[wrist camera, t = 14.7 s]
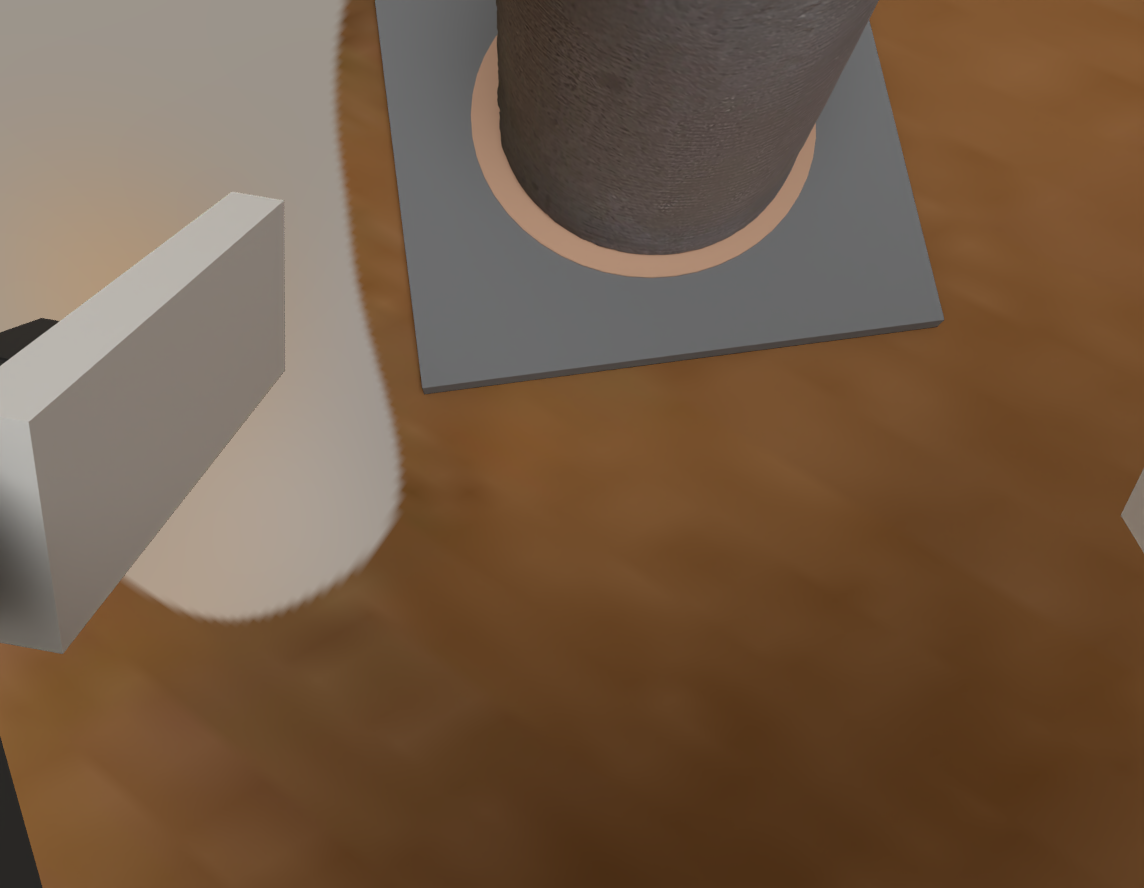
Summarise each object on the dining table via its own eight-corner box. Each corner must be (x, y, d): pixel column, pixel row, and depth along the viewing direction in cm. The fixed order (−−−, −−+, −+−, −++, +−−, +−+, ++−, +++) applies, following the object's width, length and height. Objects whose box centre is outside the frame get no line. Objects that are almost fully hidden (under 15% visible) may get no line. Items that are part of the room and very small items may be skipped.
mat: (830, -103, 37) (835, -118, 36) (937, 326, 33) (945, 318, 32) (368, -58, 35) (365, -72, 35) (424, 394, 32) (421, 387, 31)
